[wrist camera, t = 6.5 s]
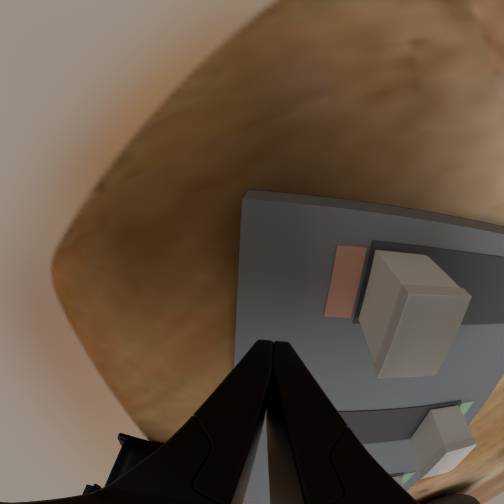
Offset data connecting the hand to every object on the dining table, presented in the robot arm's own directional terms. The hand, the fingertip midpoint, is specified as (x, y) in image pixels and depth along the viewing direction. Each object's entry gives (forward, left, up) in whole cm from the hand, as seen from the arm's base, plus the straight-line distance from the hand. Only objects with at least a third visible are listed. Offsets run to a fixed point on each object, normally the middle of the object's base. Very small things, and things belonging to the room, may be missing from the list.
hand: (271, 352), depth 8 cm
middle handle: (+12, -10, -4) cm, 16 cm away
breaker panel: (+8, -11, -6) cm, 15 cm away
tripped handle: (+5, 0, -4) cm, 7 cm away
